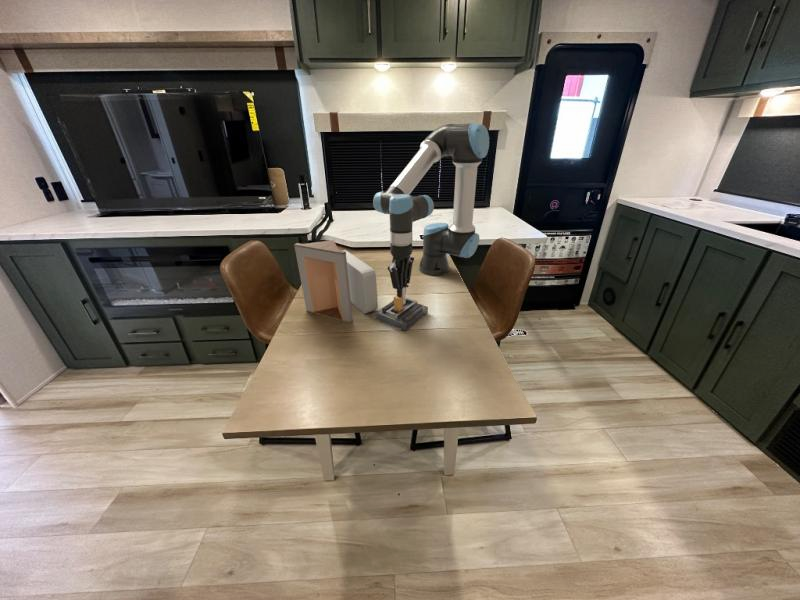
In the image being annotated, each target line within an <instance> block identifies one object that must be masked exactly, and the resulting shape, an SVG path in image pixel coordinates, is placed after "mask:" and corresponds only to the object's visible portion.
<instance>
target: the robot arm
mask: <svg viewBox="0 0 800 600" xmlns="http://www.w3.org/2000/svg"><path fill="white" fill-rule="evenodd" d="M489 135H490V134H489V131H488V129H487V127H486V126H485V125H484V124H482V123H474V122H472V123H448V124H444V125H441V126H439V127H438V128H436V129H435V130H434V131H432V132H431V133H429V134H428V135H427V136H426V137H425V139H424V140H423V141H422V142H421V143H420V145H419V150H418V151H417V152H416V153H415V154H414V156H413V157H412V158H411V160H410V161H409V162H408V164H407V165H406V166H405V167H404V169H403V170H402V171H401V172H400V173H399V174H398V176H397V178H396V179H395V180H394V181H393V182H392V184H390V186H389V187H388V189H387V190H386V191H379V192H376V193H375V194H374V196H373V201H372V202H373V203H372V204H373V205H372V206H373V208H374V210H376V212H378V213H381V214H384V215H389V235H390V237H389V238H390V241H389V242H390V247H389V248H390V254H391V256H392V261H391V263H392V264H391V265H388V266H387V271H388V272H389V276H390V280H391V284H392V285H391V286H392V289H395V290H396V295H397V296H398V297H403V305H404V304H405V303H406V298H407V297H406V293H407V288H409V287H410V286H409V284H410V283H411V276H412V271H413V262H414V261H415V257H413V256H412V253H413V223H414V222H416V221H420V220H423V219H426V218H427V217H429V216H430V215H432V213H433V212H434V209H435V204H434V201H433V199H432V197H430V196H429V195H427V194H423V195H421V194H420V195H417V196H414V195H411V193H412V192H413V191H414V189H416V187H417V186H418V184H419V182H420V181H421V180H422V179H423V177H424V176H425V175H426V173H427V172H428V171H429V170H430V169H431V167H432V166H433V164H435V163H437V162H439V161H440V160H441V158H444V157H452V164H453V165H454V166H455V178H454V196H453V212H452V213H453V214H452V215H453V216H452V224H451V225H449V224H448V223H446V222H436V223H430V224H429V223H428V224H427V225H425V226H424V228H423V235H422V236H423V237H422V239H423V241H422V243H423V245H422V257H421V258H420V262H419V265H418V271H419V272H420V273H423V274H424V275H429V276H442V275H445V274H447V273H448V272H450V271H449V270H450V265H449V260H448V257H447V255H451V256H455V257H459V258H465V259H469V258H471V257H473V255H474V254H475V252H476V251H477V248H478V246H479V243H480V235H479V233H477V232H476V226H475V225H474V224H473V222H474V221H473V220H474V210H475V209H474V208H475V199H476V198H475V197H476V187H477V177H478V176H477V175H478V167H479V165H480V164H481V163H482V162H483V158H485V157H486V156H487V155H488V151H489V148H490V136H489Z"/></svg>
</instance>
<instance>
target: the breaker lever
mask: <svg viewBox="0 0 800 600" xmlns="http://www.w3.org/2000/svg"><path fill="white" fill-rule="evenodd" d="M393 300H394V310H393V313H396V314H397V313H399V312H400V311H402V310H403V297H398V296H397V294H396V295H395V296H393Z"/></svg>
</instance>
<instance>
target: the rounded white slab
mask: <svg viewBox="0 0 800 600" xmlns="http://www.w3.org/2000/svg"><path fill="white" fill-rule="evenodd" d="M342 251H346V259H347V269H348V278H349V288H350V298H351V304H352V305H354V306H355V307H356V308H357V309H358V310H359V311H361V312H362V313H363V314H369V313H372V312H374V311H375V312H376V311H378V310H377V309H378V291H377V289H378V287H377V275H376V274H377V273H376V272H375V270H374V269H373V268H372V267H371V266H370V265H368V264H367V263H366V262H364V261H362V260H361V259H359V258H358V257H357V256H355V255H354V254H352V253H351V252H349V251H348V250H345V249H344V250H342Z"/></svg>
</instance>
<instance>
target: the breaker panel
mask: <svg viewBox="0 0 800 600" xmlns="http://www.w3.org/2000/svg"><path fill="white" fill-rule="evenodd" d="M393 301H394V299H393V300H392V301H390V302H389V303H388V304H390V303H391V302H393ZM388 304H386V305H388ZM417 304H419V303H418V301H417V300H415V299H412V298H408V297H406V303H405V304H404V305H403V310H402V311H400V312H399V313H397V314H396V313H393V310H394V306H393V307H392V308H390V309H389V310H387V311H386V312H382V308H383V307H385V306H386V305H384V306H383V307H381V308H380V309H378V310H376V311H375V313H374V314H375V320H376V321H380V322H382V323H383V324H387V325H389V326H392V327H393V328H396V329H399V330H402V332H403V331H404V332H407V331H408V330H409V329H410V328H412V327H413V326H415V324H417V322H419V321H421V320H422V319H423V318H424V317H425V316H427V315H428V313H429V306H426V305H423V304H421V305H422V307H423V310H422V311H420V312H419V313H418V314H417V315H415V316H414V317H413V318H411V319H410V320H409V321H405V320H402V315H404V314H405V313H407V312H408V311H409V310H411V309H412V308H413V307H415V306H416V305H417Z"/></svg>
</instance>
